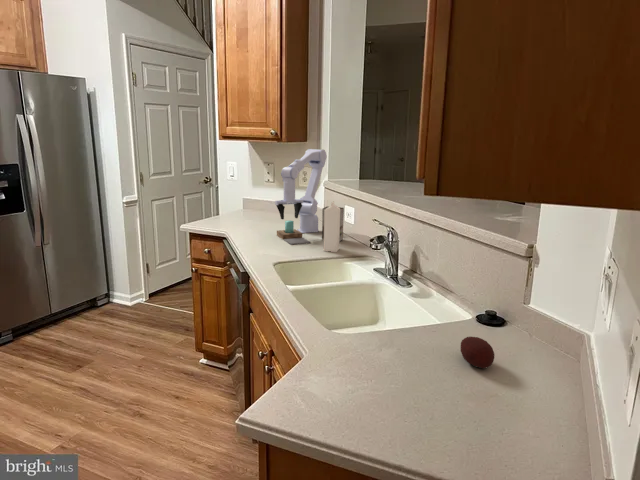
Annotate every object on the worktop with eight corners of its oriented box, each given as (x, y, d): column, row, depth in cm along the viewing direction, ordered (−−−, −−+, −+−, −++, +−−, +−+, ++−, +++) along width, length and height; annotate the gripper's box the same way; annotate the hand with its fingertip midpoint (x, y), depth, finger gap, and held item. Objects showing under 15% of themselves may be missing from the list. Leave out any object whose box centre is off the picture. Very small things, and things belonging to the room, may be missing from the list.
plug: (291, 235, 236) (291, 220, 235) (294, 237, 233) (294, 221, 231) (284, 236, 235) (284, 220, 233) (286, 238, 231) (286, 222, 229)
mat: (302, 238, 230) (302, 237, 230) (310, 243, 221) (310, 242, 221) (283, 240, 226) (283, 238, 226) (290, 244, 218) (290, 243, 217)
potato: (471, 375, 104) (474, 350, 103) (451, 354, 114) (453, 331, 113) (501, 372, 106) (504, 348, 104) (479, 352, 115) (481, 329, 114)
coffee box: (343, 239, 230) (344, 207, 226) (338, 242, 225) (339, 209, 221) (326, 237, 234) (327, 205, 230) (321, 240, 228) (322, 207, 224)
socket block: (295, 234, 240) (295, 229, 240) (302, 238, 231) (302, 233, 231) (276, 235, 236) (276, 230, 236) (283, 239, 227) (283, 234, 227)
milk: (323, 251, 208) (324, 202, 202) (326, 248, 213) (327, 200, 208) (336, 252, 206) (337, 203, 201) (339, 249, 212) (340, 201, 207)
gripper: (299, 189, 235) (298, 216, 238) (272, 191, 228) (272, 218, 232) (305, 191, 229) (305, 218, 232) (278, 192, 222) (278, 220, 226)
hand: (289, 218), depth 232 cm, fingers open, 7 cm apart
